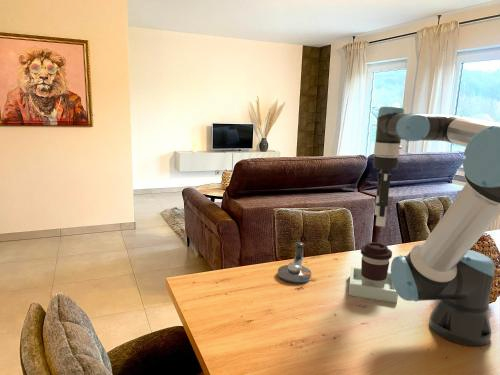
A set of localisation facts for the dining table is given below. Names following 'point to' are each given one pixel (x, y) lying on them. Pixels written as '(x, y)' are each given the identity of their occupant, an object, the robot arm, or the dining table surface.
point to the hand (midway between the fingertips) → (379, 220)
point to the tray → (371, 288)
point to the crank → (297, 259)
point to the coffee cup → (375, 264)
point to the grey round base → (295, 275)
